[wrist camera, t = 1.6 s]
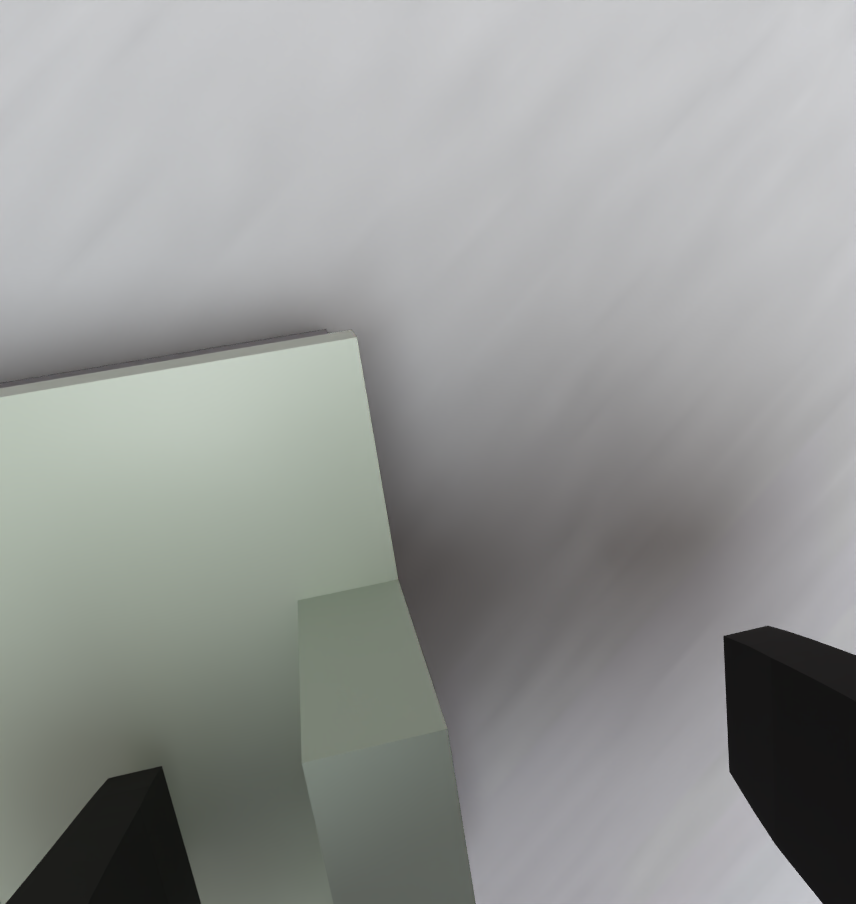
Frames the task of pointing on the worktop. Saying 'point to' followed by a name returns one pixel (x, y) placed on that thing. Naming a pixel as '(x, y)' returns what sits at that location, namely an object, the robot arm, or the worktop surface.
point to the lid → (220, 628)
